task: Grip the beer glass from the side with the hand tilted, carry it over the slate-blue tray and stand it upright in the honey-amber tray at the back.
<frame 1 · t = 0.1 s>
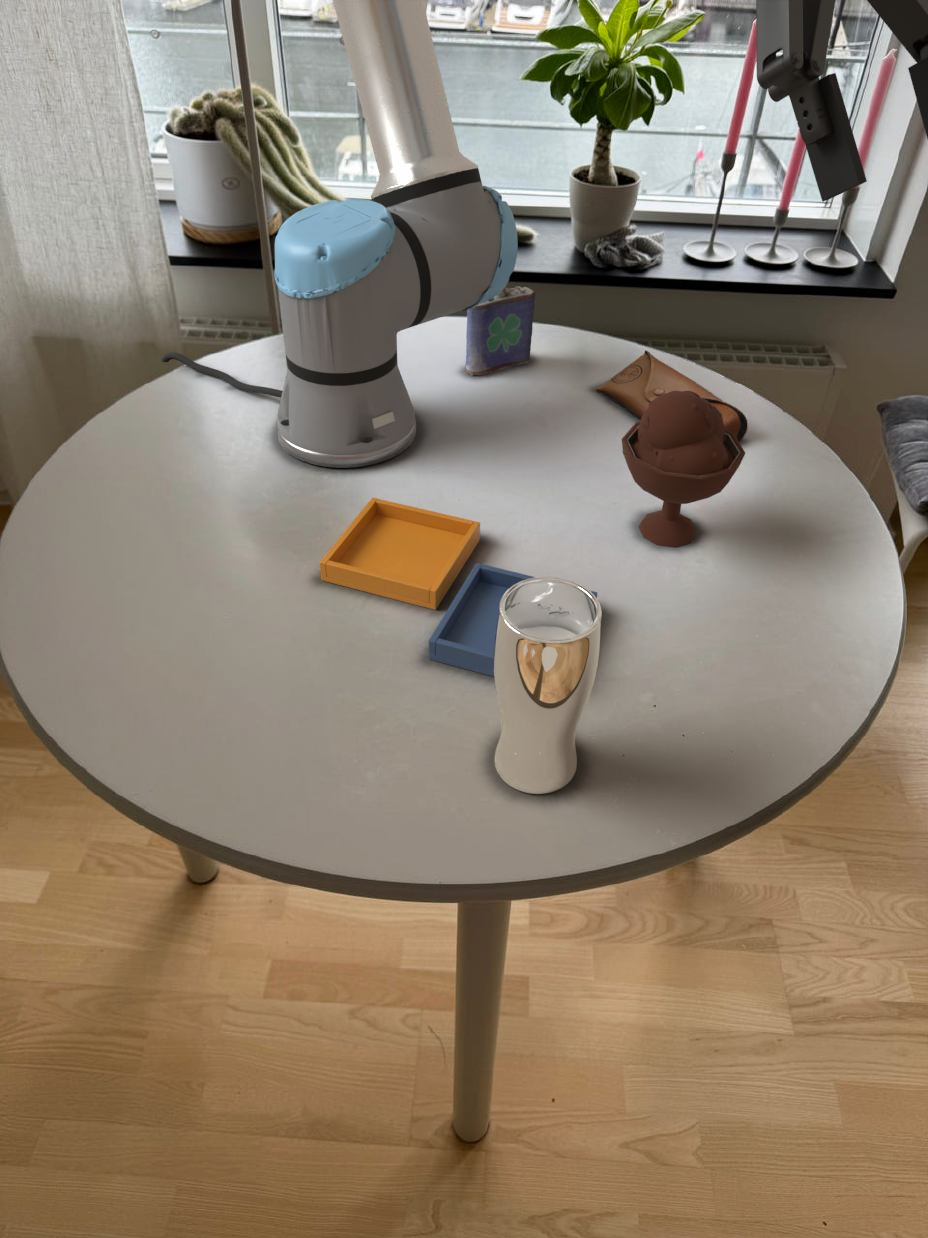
hand: (903, 171, 63), 36 cm above the table, tool tilted 35°, fingers open, 13 cm apart
blue tray: (514, 634, 82), on the table
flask: (497, 366, 120), on the table
amber tray: (402, 559, 90), on the table
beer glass: (535, 764, 72), on the table
sunglasses case: (665, 416, 112), on the table
ice cream bowl: (667, 531, 94), on the table
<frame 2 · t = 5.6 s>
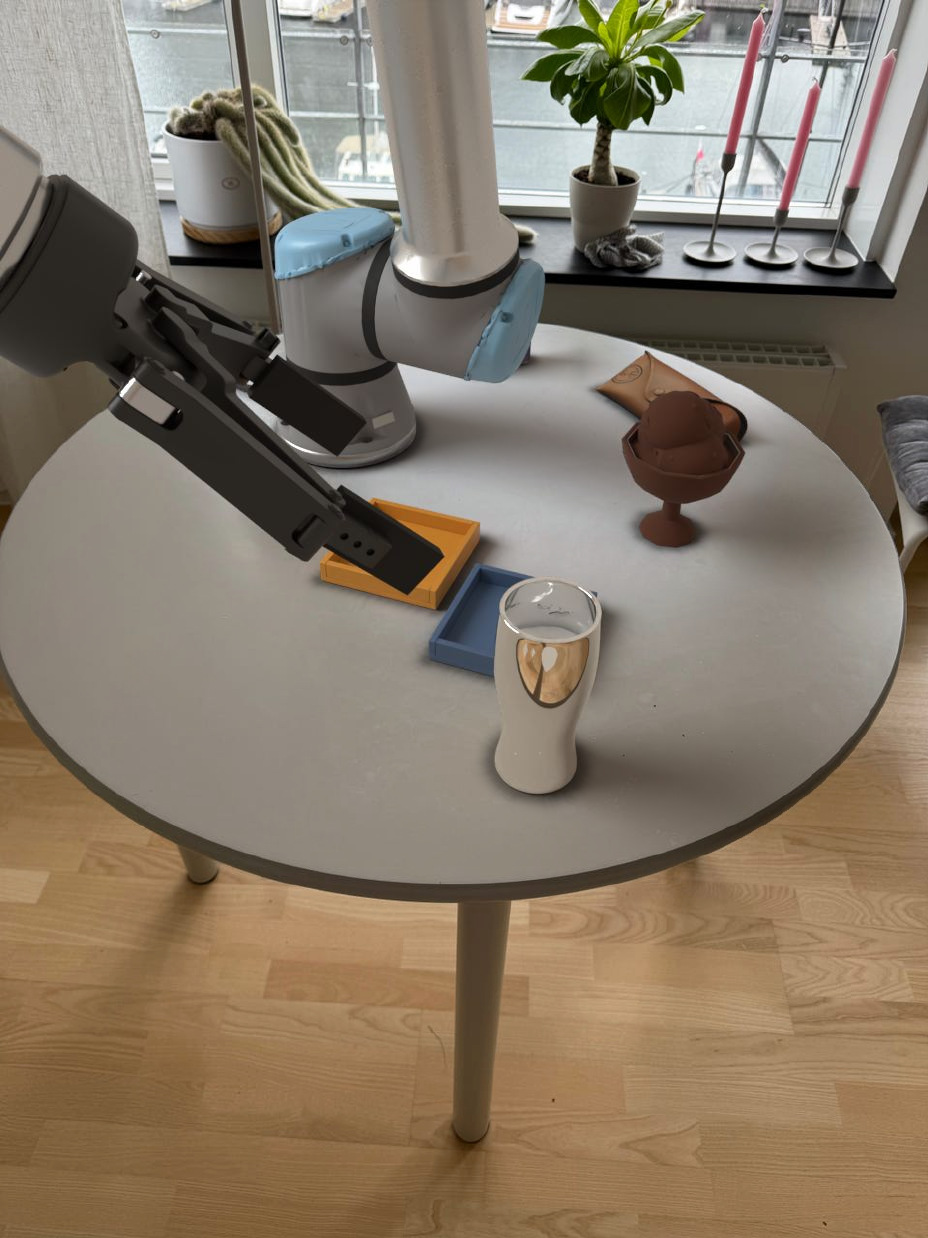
hand: (384, 498, 52), 26 cm above the table, tool tilted 45°, fingers open, 13 cm apart
nothing on the table moved.
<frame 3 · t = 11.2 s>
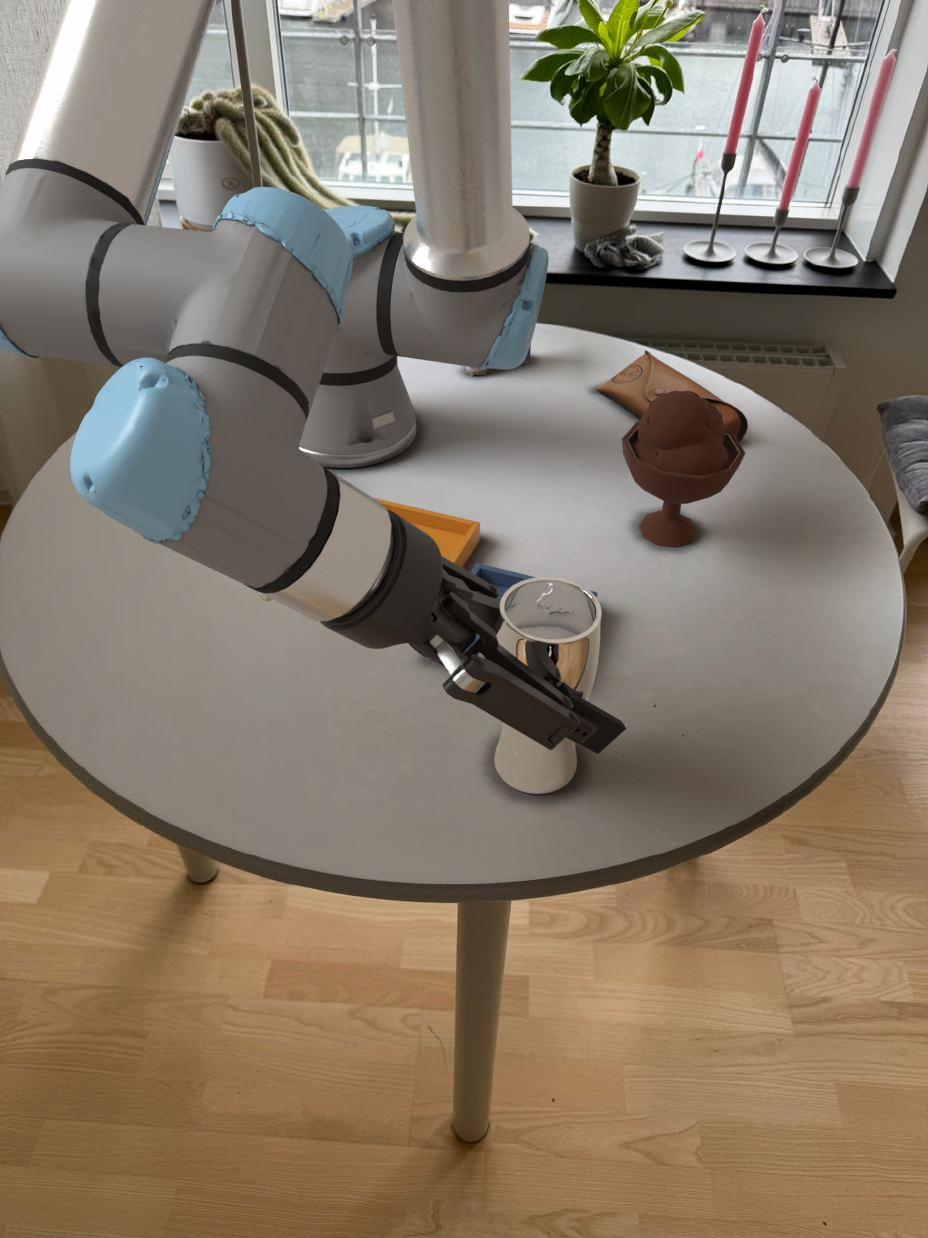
hand: (585, 699, 69), 5 cm above the table, tool tilted 45°, fingers closed on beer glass, 7 cm apart
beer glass: (535, 764, 72), on the table, touching gripper
everything else where it was.
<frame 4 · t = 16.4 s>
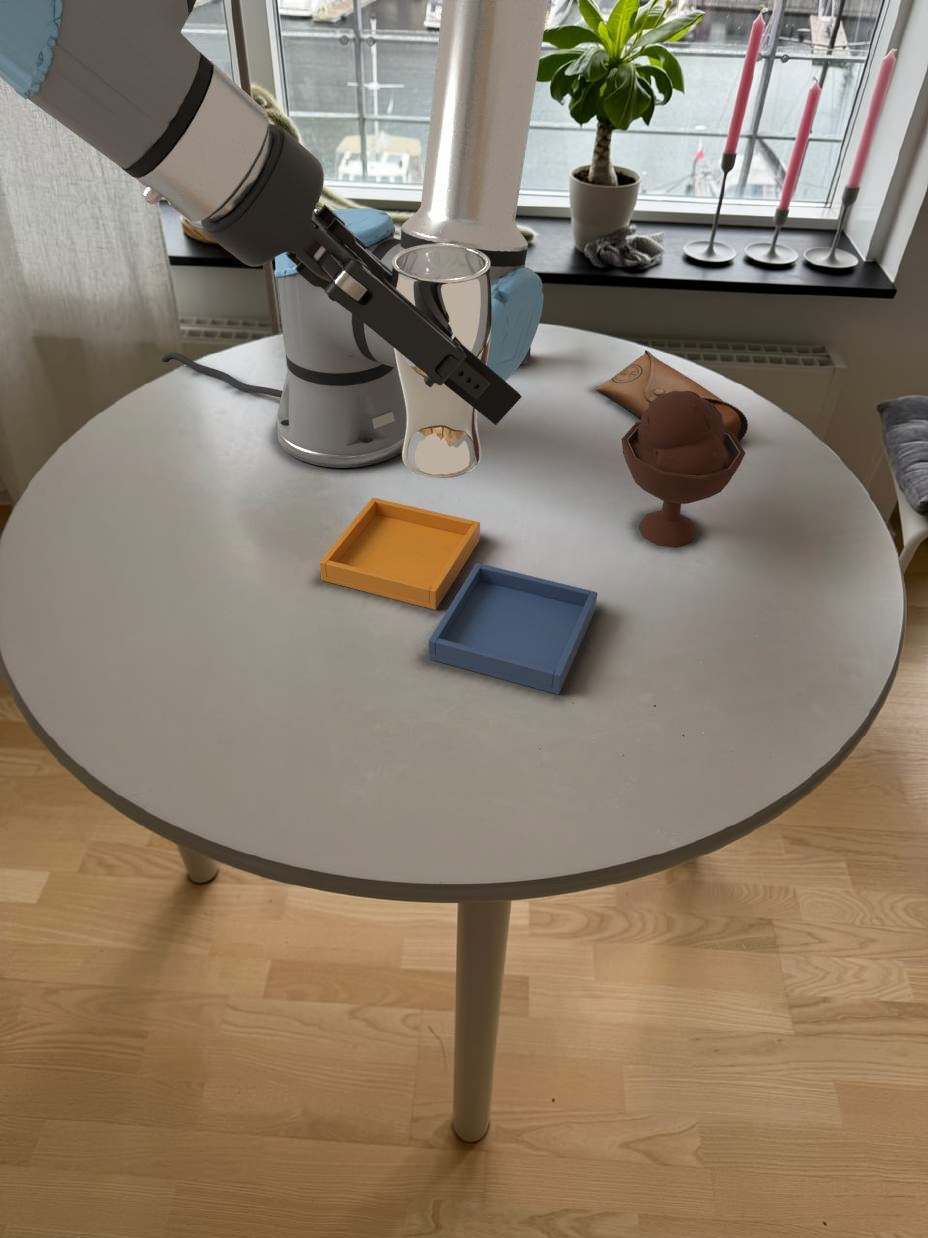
hand: (486, 383, 71), 21 cm above the table, tool tilted 45°, fingers closed on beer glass, 7 cm apart
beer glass: (441, 459, 74), point 16 cm above the table, touching gripper
everything else where it was.
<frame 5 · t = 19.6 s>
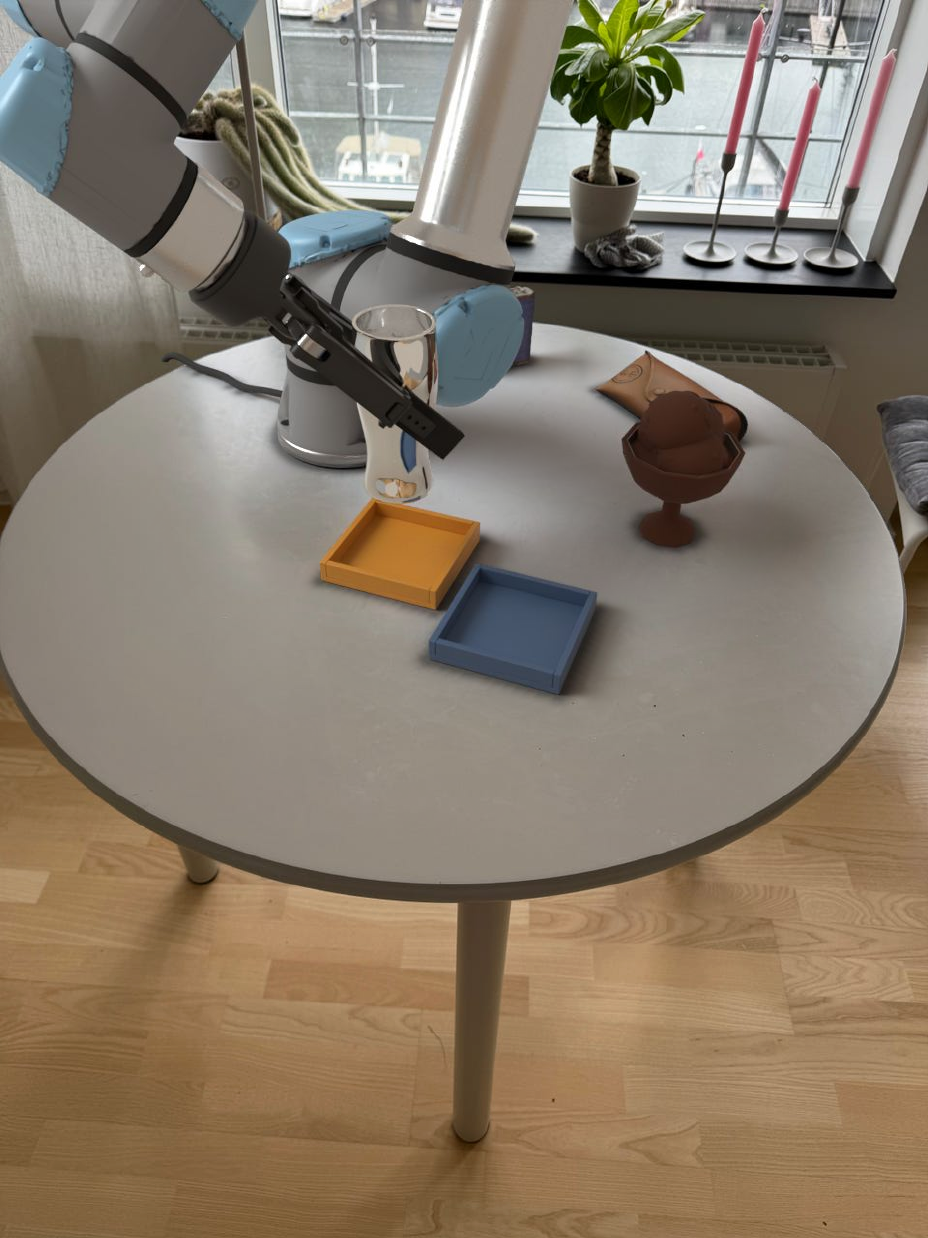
hand: (436, 423, 82), 14 cm above the table, tool tilted 45°, fingers closed on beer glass, 7 cm apart
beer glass: (398, 487, 85), point 8 cm above the table, touching gripper
everything else where it was.
when the fingers open (6 cm above the table, at t = 22.1 s): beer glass stays where it is, resting on amber tray.
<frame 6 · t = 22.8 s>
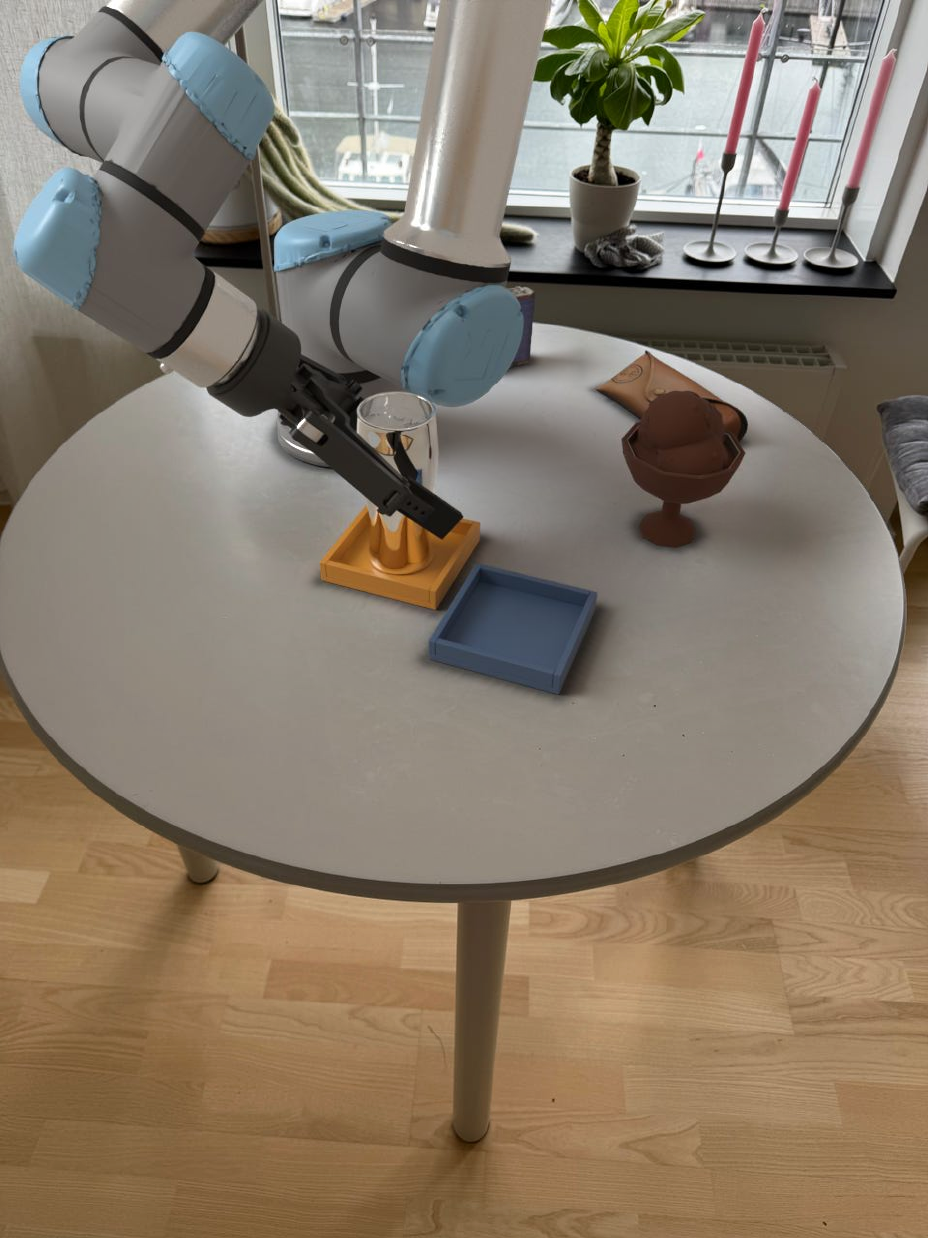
hand: (426, 483, 85), 8 cm above the table, tool tilted 45°, fingers open, 13 cm apart
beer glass: (401, 556, 90), resting on amber tray
everything else where it was.
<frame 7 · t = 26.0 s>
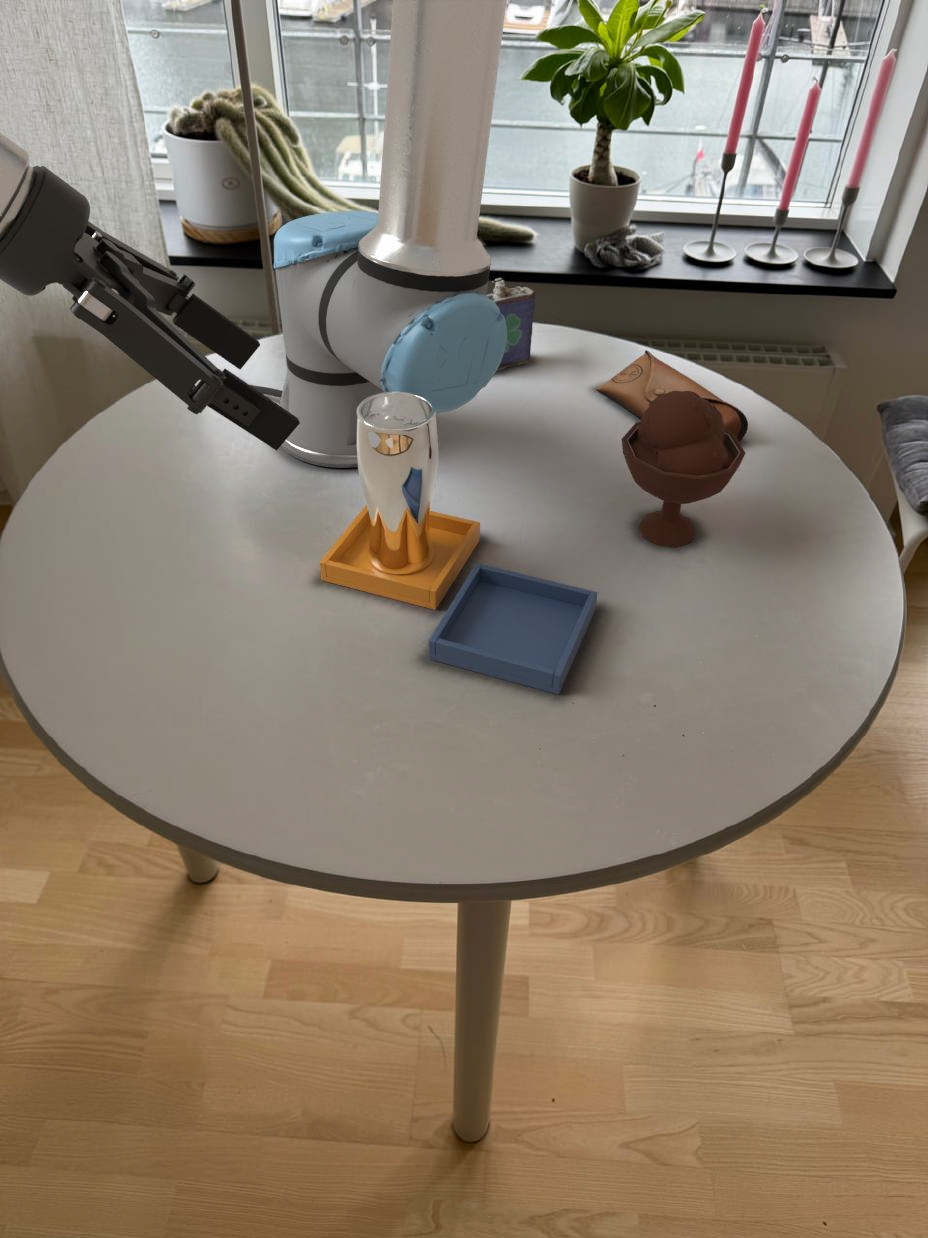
hand: (267, 392, 75), 19 cm above the table, tool tilted 45°, fingers open, 13 cm apart
nothing on the table moved.
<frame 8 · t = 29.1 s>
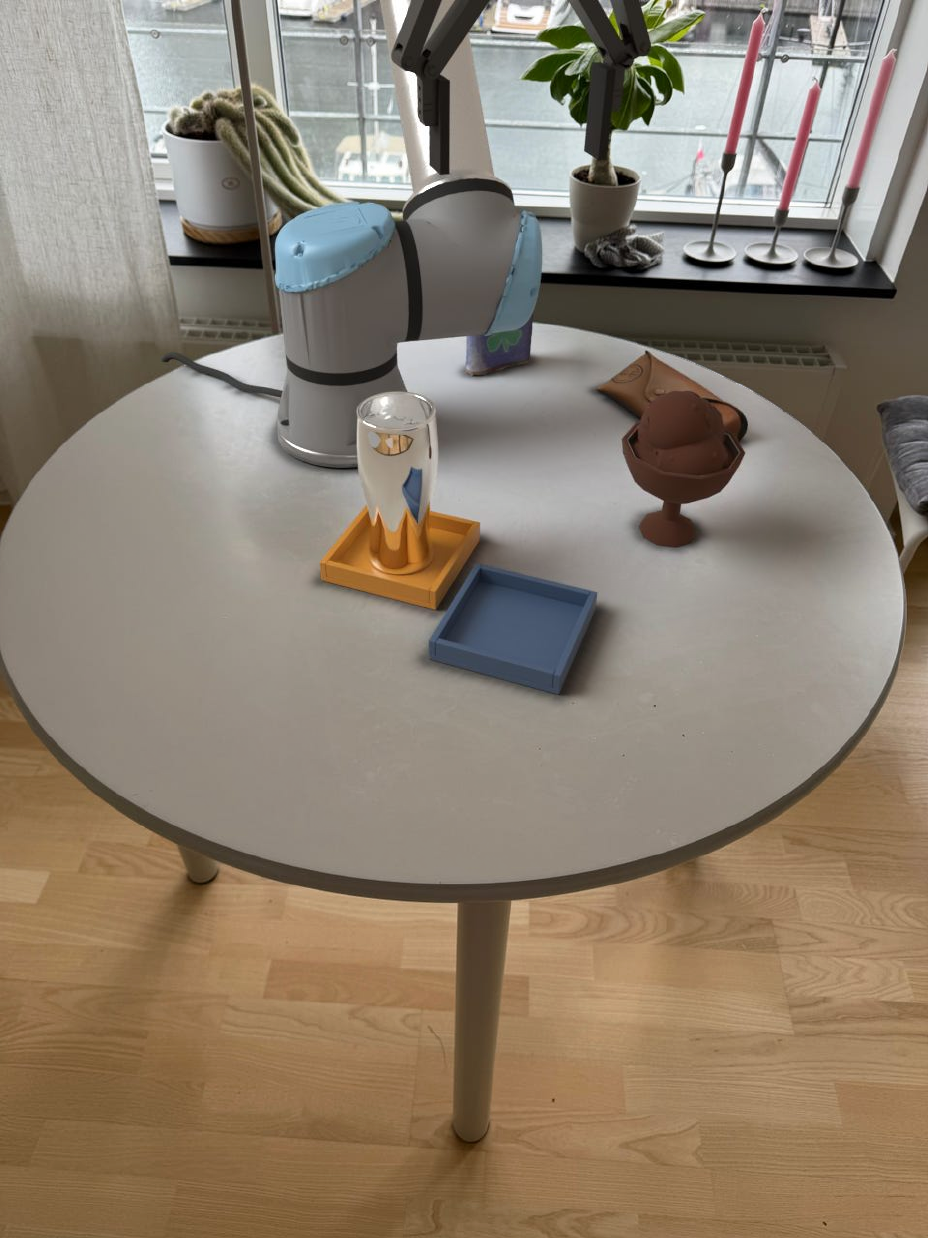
hand: (519, 162, 78), 32 cm above the table, tool pointing down, fingers open, 13 cm apart
nothing on the table moved.
at the end: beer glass 0.1 cm off-centre in the amber tray, point 0.4 cm above the amber tray's base; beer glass tilted 0°; the gripper is holding nothing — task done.
